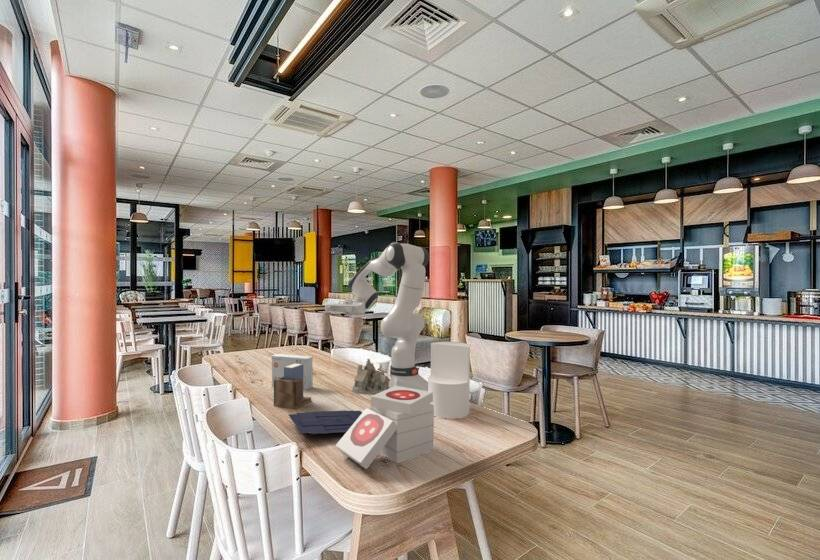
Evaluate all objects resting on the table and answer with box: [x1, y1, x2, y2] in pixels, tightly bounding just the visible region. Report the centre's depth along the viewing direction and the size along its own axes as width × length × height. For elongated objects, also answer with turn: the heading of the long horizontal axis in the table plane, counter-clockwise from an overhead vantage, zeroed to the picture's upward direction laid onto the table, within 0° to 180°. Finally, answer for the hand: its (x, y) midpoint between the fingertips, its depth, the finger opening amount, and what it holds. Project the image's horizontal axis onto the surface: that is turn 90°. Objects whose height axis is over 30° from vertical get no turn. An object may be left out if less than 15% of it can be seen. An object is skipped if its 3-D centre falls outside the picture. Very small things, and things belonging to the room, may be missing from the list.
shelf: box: [273, 377, 312, 410], centre depth 179 cm, size 11×12×12 cm
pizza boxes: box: [335, 386, 435, 470], centre depth 129 cm, size 19×30×18 cm, turn 129°
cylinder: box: [427, 341, 471, 419], centre depth 169 cm, size 17×17×28 cm
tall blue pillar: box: [284, 364, 303, 381], centre depth 180 cm, size 4×8×15 cm, turn 160°
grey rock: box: [351, 358, 391, 395], centre depth 200 cm, size 16×16×15 cm
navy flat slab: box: [288, 409, 363, 435], centre depth 152 cm, size 24×30×4 cm
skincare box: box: [271, 353, 314, 391], centre depth 205 cm, size 21×6×16 cm, turn 73°
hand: (336, 309), depth 200 cm, fingers open, 8 cm apart
